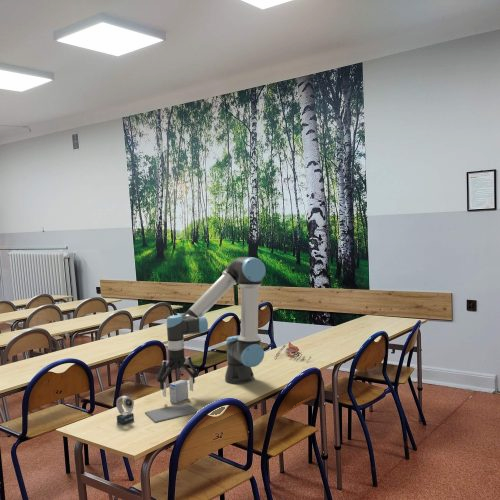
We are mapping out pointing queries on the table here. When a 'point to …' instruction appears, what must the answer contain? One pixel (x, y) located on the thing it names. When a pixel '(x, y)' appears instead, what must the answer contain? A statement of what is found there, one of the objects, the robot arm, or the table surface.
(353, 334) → the table surface
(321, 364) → the table surface
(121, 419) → the watch
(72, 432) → the table surface
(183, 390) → the medicine box
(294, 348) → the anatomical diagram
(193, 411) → the mat
